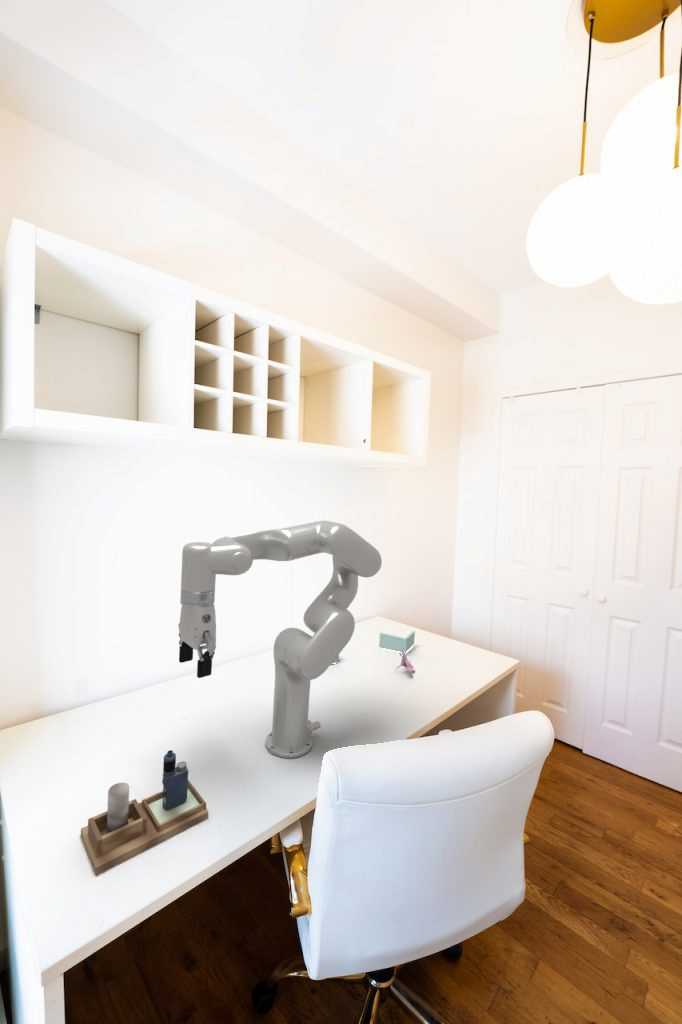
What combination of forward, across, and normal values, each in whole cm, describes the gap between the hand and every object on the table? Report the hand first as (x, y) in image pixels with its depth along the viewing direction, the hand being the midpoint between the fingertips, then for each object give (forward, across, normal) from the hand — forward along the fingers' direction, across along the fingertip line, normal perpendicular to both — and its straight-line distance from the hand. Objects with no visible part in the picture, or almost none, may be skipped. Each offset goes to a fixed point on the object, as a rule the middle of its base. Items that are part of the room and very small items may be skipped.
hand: (194, 668), depth 101 cm
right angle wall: (+27, +24, -105) cm, 111 cm away
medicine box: (+27, +31, -71) cm, 82 cm away
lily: (+27, +5, -88) cm, 92 cm away
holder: (+26, -9, +13) cm, 31 cm away
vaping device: (+25, -8, +7) cm, 27 cm away
